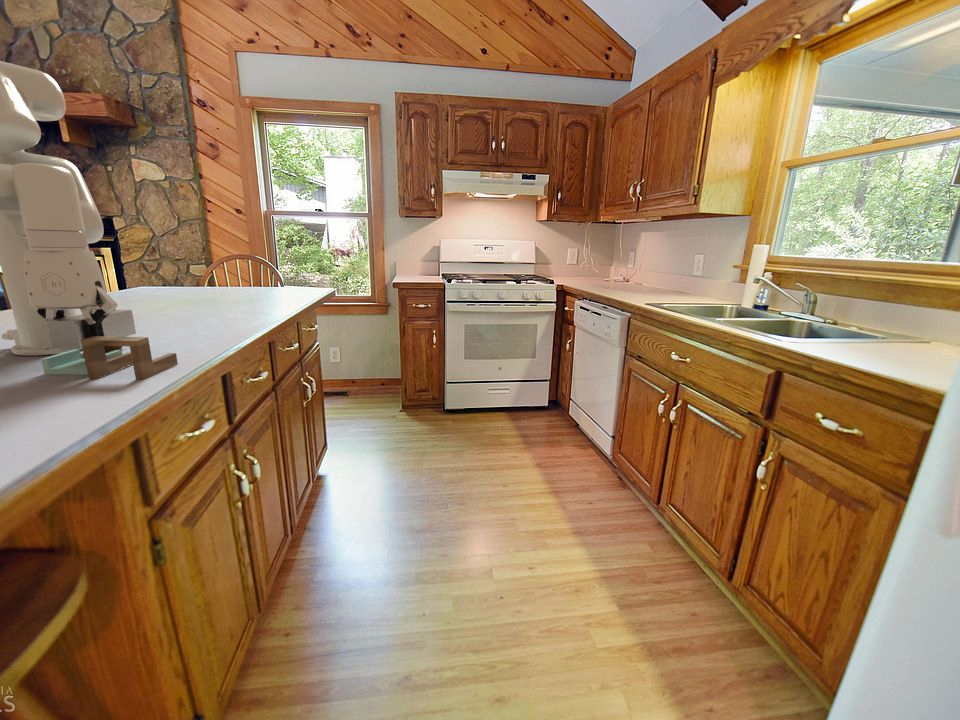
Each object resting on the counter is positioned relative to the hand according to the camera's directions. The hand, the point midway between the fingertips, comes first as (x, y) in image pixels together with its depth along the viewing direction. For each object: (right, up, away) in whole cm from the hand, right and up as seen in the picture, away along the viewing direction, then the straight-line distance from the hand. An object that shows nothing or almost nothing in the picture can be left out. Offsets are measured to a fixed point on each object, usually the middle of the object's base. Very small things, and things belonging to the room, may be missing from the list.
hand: (81, 343), depth 78 cm
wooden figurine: (-7, -1, +15) cm, 16 cm away
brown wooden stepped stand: (+9, -5, +1) cm, 11 cm away
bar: (0, +3, +3) cm, 4 cm away
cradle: (0, -5, +2) cm, 5 cm away
